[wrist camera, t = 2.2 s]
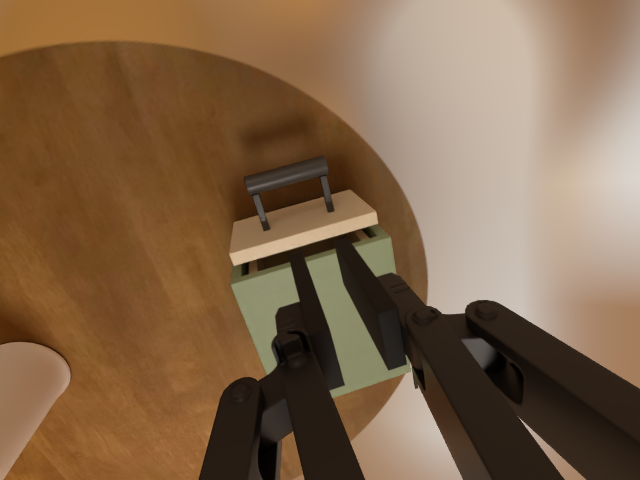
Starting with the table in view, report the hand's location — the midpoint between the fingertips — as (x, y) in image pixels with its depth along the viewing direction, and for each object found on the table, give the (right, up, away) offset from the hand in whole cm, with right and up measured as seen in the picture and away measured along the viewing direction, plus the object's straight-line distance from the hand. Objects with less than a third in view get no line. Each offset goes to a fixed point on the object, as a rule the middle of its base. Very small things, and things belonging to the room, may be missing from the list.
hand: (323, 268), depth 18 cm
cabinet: (-1, -3, +22) cm, 22 cm away
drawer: (-2, +1, +19) cm, 19 cm away
